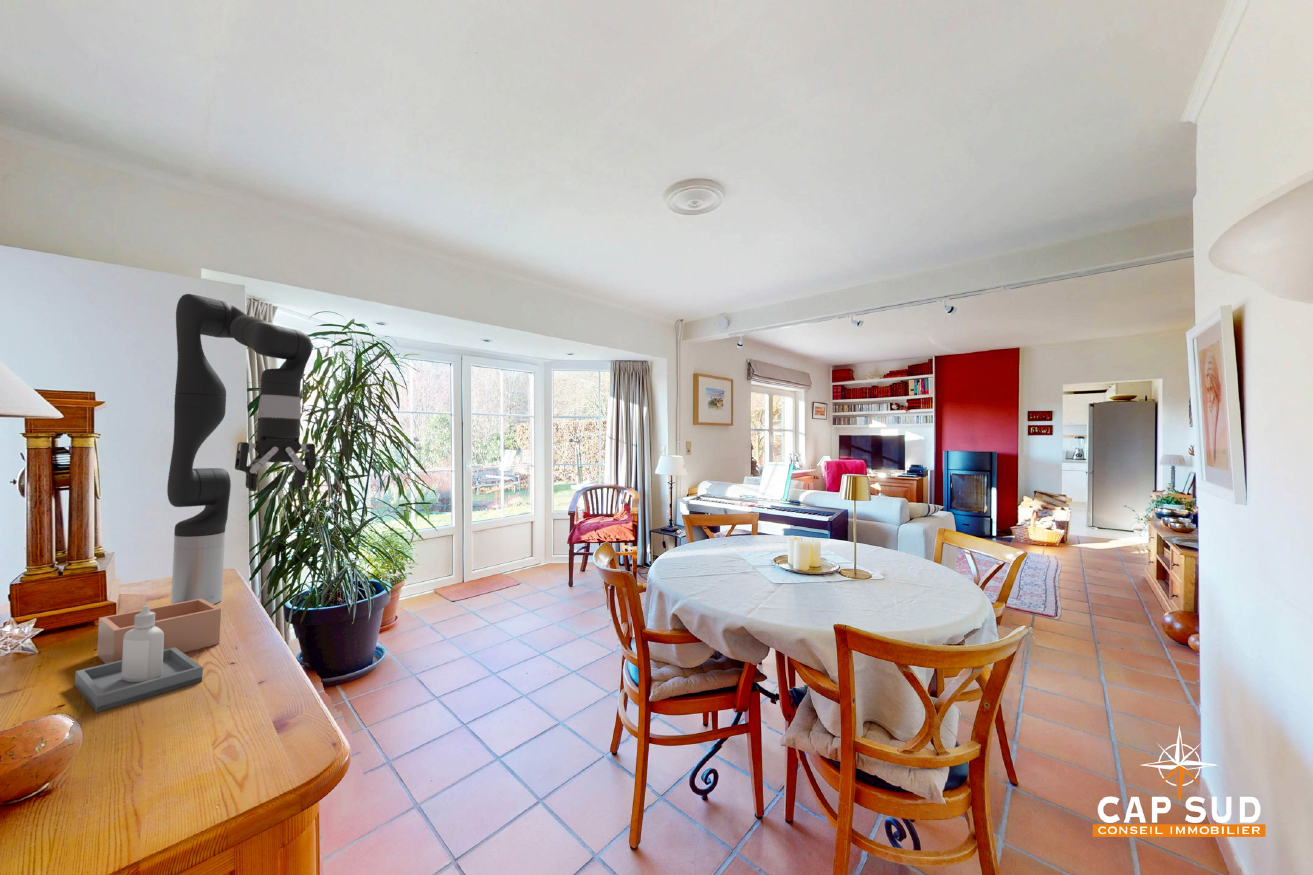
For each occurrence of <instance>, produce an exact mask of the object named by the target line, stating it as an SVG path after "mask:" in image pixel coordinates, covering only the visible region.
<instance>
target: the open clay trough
mask: <svg viewBox="0 0 1313 875" xmlns="http://www.w3.org/2000/svg"><path fill="white" fill-rule="evenodd" d="M141 610H142V609H139V610H138V609H137V610H134V611H133V610H132V611H128V612H121V613H117V614H112V615H108V616H107V615H106V616H102V617H98V628H97V629H98V632H97V648H96V649H97V651H96V652H97V653H96V656H97V657H98V658H99V659H100V660H101V661H102V662H103V664H107V663H111V662H115V661H120V660H122V654H123V640H124V635H125V633H126V632H128V631H129V630H132V629H134V619H135V615H137V614H139V613H140V612H141ZM149 610H150V611H151V612H155V625H154V626H156V627H158V628H160V629H161V630H162V631H163V633H164V649H163V650H165V649H169V648H173V647H176V648H177V649H178V650H180V651H181V652H183V653H184V654H185V653H188V652H191V651H195V650H196V651H197V650H200V649H204V648H208V647H212V646H216V645H219V644H220V637H221V635H220V634H221V617H222V616H221V614H222V608H220V607H218V606H217V605H216V604H211V603H209V602H207V601H205V600H204V599H196V600H191V601H186V602H180V603H175V604H171V603H170V604H165V605H161V606H154V607H149Z"/></svg>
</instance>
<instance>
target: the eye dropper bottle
mask: <svg viewBox="0 0 1313 875" xmlns="http://www.w3.org/2000/svg"><path fill="white" fill-rule="evenodd" d="M149 608H150V606H149V605H143V606H142V607H141V609H140V610H141V612H140V613H139V614H137V615H135V619H134V629H132V630H129V631H128V632H126V633H125V635H124V640H123V654H122V672H121V678H122V679H123V680H124V681H127V682H144V681H148V680H152V679H155V678H158V677H160V676H161V675H162V669H163V649H164V633H163V631H162V630H161V629H160V628H158V627H156V626H154V625H155V612H151V611H150V610H149Z"/></svg>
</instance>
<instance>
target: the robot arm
mask: <svg viewBox="0 0 1313 875" xmlns="http://www.w3.org/2000/svg"><path fill="white" fill-rule="evenodd" d="M175 311H176V312H175V325H176V326H175V329H176V331H175V332H176V346H177V348H176V349H177V361H176V364H177V366H176V367H177V368H176V378H175V379H176V380H175V390H174V393H175V394H174V405H173V406H174V407H173V408H174V410H173V411H174V413H173V414H174V417H173V419H174V420H173V422H174V423H173V424H174V425H173V428H174V429H173V444H172V449H171V450H172V451H171V457H170V458H171V459H170V465H169V472H168V476H167V477H168V478H167V490H166V491H167V498H168V502H169V503H170V505H171V506H172V507H174V508H184V507H185V508H189V507H202V506H203V507H204V508H203V510H202V511H201V512H199V513H198V514H196V515H194V516H192V517H189V518H187V519H184V520H181V521H179V522H177V523H176V524H175V526H174V534H173V535H174V536H173V554H172V556H173V557H172V578H171V593H170V594H171V595H170V604H175V603H180V602H186V601H191V600H196V599H204V600H205V601H207V602H209V603H211V604H213V605H216V604H217V603H220V602H222V600H223V584H224V583H223V582H224V566H225V565H224V564H225V563H224V561H225V542H226V541H225V540H226V527H227V526H226V525H227V521H228V515H229V504H230V498H231V497H230V496H231V486H232V485H231V476H230V473H229V471H228V470H226V469H224V468H219V467H216V468H215V467H211V468H210V467H209V468H207V467H204V468H201V467H200V468H197V467H196V468H194V463H195V462H194V461H195V458H196V455H197V452H198V451H199V450H200V448H201V446H202V445H203V443H204V442H205V441H206V440H207V439H208V438H209V437H210V435H211V434H212V433H213V432H214V431H215V430H216V428H218V427H219V426H220V424H221V423H222V421H223V420H224V417H225V415H226V407H227V406H226V405H227V404H226V403H227V389H226V386H225V385H224V383H223V381H222V380H221V378H220V377H219V375H218V374H217V372H216V371H215V369H214V367H212V365H211V363H210V362H209V360H208V359H207V357H206V354H205V352H204V349H203V345H202V338H201V336H206V337H213V338H217V339H218V338H221V339H222V338H223V339H224V338H225V339H234V340H235V341H236V342H237V343H239V344H241V345H243V346H245V347H248V348H249V349H250V348H251V349H252V350H253V351H254V352H255V353H256V354H258V355H261V356H264V357H269V358H273V359H279V360H280V359H282V360H286V361H285V363H284V364H283V366H282V367H280V368H278V367H277V368H268V369H267V368H266V369H265V370H263V371H262V373H261V377H260V378H261V379H260V396H259V402H258V405H257V406H258V408H257V426H256V427H257V428H256V441H255V443H253V442H246V441H245V442H244V441H239V442H238V443H237V447H236V453H235V454H236V455H235V463H234V469H235V470H237V471H239V472H240V471H241V472H244V473H245V487H246V488H245V489H248V491H250V492H257V489H258V473H257V472H258V471H259V470H260V469H261V468H262V466H264V465H265V464H266V463H278V462H279V463H289V465H291V466H292V467H293V468H294V470H295V472H294V489H297V490H298V489H299V490H300V489H301V490H302V488H303V487H304V486H305V484H306V474H307V472H308V471H310V470H315V469H316V466H317V465H316V444H314V443H312V442H311V443H310V442H309V443H302V444H301V442H300V434H301V433H300V432H301V431H300V430H301V417H302V409H301V408H302V407H301V406H302V405H301V398H300V397H301V385H302V384H301V381H302V377H303V375H304V372H305V369H306V366H307V364H308V361H309V359H310V357H311V353H312V351H313V343H312V340H311V338H310V337H309V335H308V334H307V333H306V332H305V331H302V330H298V329H294V328H290V327H289V328H288V327H284V326H280V325H275V324H274V323H271V322H270V321H267V320H264V319H261V318H258V317H255V316H252V315H248V314H246V313H245V312H244V311H242V310H240V309H239V308H238V307H237V306H235V305H233V304H231V303H228V302H226V301H223V300H219V299H215V298H210V297H206V296H201V295H197V294H191V293H186V294H183V295H182V296H181V297H180V298H179V299H178V302H177V305H176V310H175ZM253 449H254V450H255V451H256V453H257V455H256V456H255V457H254V458H253V459H252V460H251V462H250V464H249V465H248V457H249V453H252V450H253ZM300 451H302V453H303V454H304V464H303V461H302V460H301V458H300V457H299V456H298V455H297V454H298V453H299V452H300Z"/></svg>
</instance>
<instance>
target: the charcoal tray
mask: <svg viewBox="0 0 1313 875" xmlns="http://www.w3.org/2000/svg"><path fill="white" fill-rule="evenodd" d="M203 668H204V667H203V666H202V665H201V664H199V663H197V662H196V661H195V660H193V658H191V657H190V656H188V655H187V654H185V653H183V652H181V651H180V650H178V649H177V648H176V647H173V648H169V649H165V650H163V669H162V675H161V676H160V677H158V678H155V679H152V680H148V681H144V682H127V681H124V680H123V679H122V678H121V672H122V660H120V661H115V662H111V663H107V664H105V663H103V664H100V665H97V666H96V665H95V666H91V667H87V668H84V669H80V670H79V669H77V670H75V676H74V677H75V678H74V679H75V680H74V687H75V688H76V689H77V691H78V692H79V693H80V694H81V695H82V696H83V698H84V699H85V700H86V702H87V703H88V704H89V705H90V706H91V708H92V709H93V711H95V713H96V714H97V713H100V712H104V711H108V710H110V709H113V708H117V707H120V706H124V705H126V704H130V703H133V702H134V703H135V702H137V701H141V700H143V699H147V698H150V697H155V696H157V695H161V694H164V693H167V692H171V691H174V690H177V689H181V688H184V687H188V686H190V685H194V684H197V683H201V682H203Z"/></svg>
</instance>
